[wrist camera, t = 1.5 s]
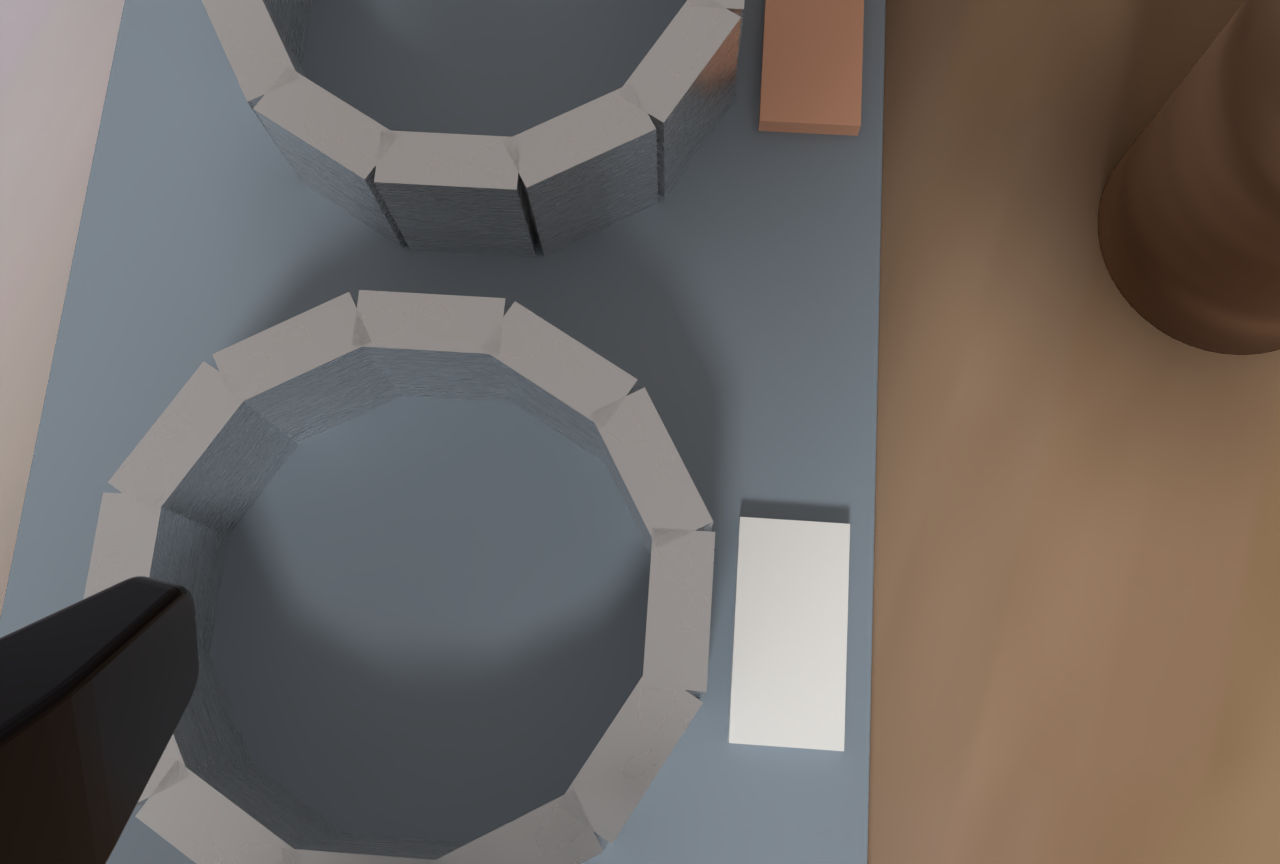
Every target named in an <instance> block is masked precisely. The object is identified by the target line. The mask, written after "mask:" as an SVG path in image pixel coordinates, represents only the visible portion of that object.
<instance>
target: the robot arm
mask: <svg viewBox="0 0 1280 864" xmlns="http://www.w3.org/2000/svg"><path fill="white" fill-rule="evenodd" d="M198 672H199V659H198V645H197V632H196V618H195V605H194V600H193V596H192V594H191V592H190V591H189V590H188V589H187V588H185V587H183V586H182V585H178V584H174V583H170V582H166V581H162V580H158V579H153V578H149V577H145V576H136V577H132V578H129V579H126V580H124V581H122V582H119V583H117V584H115V585H113V586H111V587H109V588H107V589H104V590H102V591H100V592H98V593H96V594H94V595H91V596H89V597H87V598H85V599H83V600H81V601H78V602H76V603H74V604H72V605H70V606H68V607H66V608H63V609H61V610H59V611H57V612H55V613H53V614H50V615H48V616H46V617H44V618H42V619H40V620H37V621H35V622H33V623H31V624H29V625H27V626H25V627H22V628H20V629H18V630H16V631H14V632H12V633H9V634H7V635H5V636H3V637H1V638H0V864H106V862H107V860H108V858H109V857H110V855H111V853H112V851H113V849H114V848H115V846H116V844H117V842H118V840H119V838H120V836H121V834H122V832H123V830H124V828H125V826H126V824H127V822H128V820H129V818H130V816H131V815H132V813H133V811H134V809H135V807H136V805H137V803H138V801H139V799H140V797H141V795H142V793H143V791H144V789H145V787H146V785H147V783H148V781H149V780H150V778H151V776H152V774H153V772H154V770H155V768H156V766H157V764H158V762H159V760H160V758H161V756H162V754H163V752H164V750H165V748H166V746H167V744H168V743H169V741H170V739H171V737H172V735H173V733H174V731H175V729H176V727H177V725H178V723H179V721H180V719H181V717H182V715H183V713H184V711H185V709H186V708H187V706H188V704H189V702H190V700H191V697H192V695H193V692H194V690H195V687H196V683H197V679H198Z"/></svg>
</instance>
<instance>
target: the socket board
mask: <svg viewBox="0 0 1280 864" xmlns="http://www.w3.org/2000/svg"><path fill="white" fill-rule="evenodd" d="M885 6H886V0H125V2H124V7H123V12H122V17H121V22H120V27H119V32H118V37H117V42H116V47H115V52H114V57H113V62H112V67H111V72H110V77H109V82H108V87H107V92H106V97H105V102H104V107H103V112H102V117H101V122H100V127H99V132H98V137H97V142H96V147H95V151H94V156H93V161H92V166H91V171H90V176H89V181H88V186H87V191H86V196H85V201H84V206H83V211H82V216H81V221H80V226H79V231H78V236H77V241H76V246H75V251H74V256H73V261H72V266H71V271H70V276H69V281H68V286H67V291H66V296H65V301H64V306H63V311H62V315H61V320H60V325H59V330H58V335H57V340H56V345H55V350H54V355H53V360H52V365H51V370H50V375H49V380H48V385H47V390H46V395H45V400H44V405H43V410H42V415H41V420H40V425H39V430H38V435H37V440H36V445H35V450H34V455H33V460H32V465H31V470H30V475H29V479H28V484H27V489H26V494H25V499H24V504H23V509H22V514H21V519H20V524H19V529H18V534H17V539H16V544H15V549H14V554H13V559H12V564H11V569H10V574H9V579H8V584H7V589H6V594H5V599H4V604H3V609H2V614H1V619H0V638H1V637H3V636H5V635H7V634H9V633H12V632H14V631H16V630H18V629H20V628H22V627H25V626H27V625H29V624H31V623H33V622H35V621H37V620H40V619H42V618H44V617H46V616H48V615H50V614H53V613H55V612H57V611H59V610H61V609H63V608H66V607H68V606H70V605H72V604H74V603H76V602H78V601H81V600H83V599H85V598H87V597H89V596H91V595H94V594H96V593H98V592H100V591H102V590H104V589H107V588H109V587H111V586H113V585H115V584H117V583H119V582H122V581H124V580H126V579H129V578H132V577H136V576H145V577H149V578H153V579H158V580H162V581H166V582H170V583H174V584H178V585H182V586H183V587H185V588H187V589H188V590H189V591H190V592H191V594H192V596H193V600H194V605H195V618H196V632H197V645H198V659H199V672H198V679H197V683H196V687H195V690H194V692H193V695H192V697H191V700H190V702H189V704H188V706H187V708H186V709H185V711H184V713H183V715H182V717H181V719H180V721H179V723H178V725H177V727H176V729H175V731H174V733H173V735H172V737H171V739H170V741H169V743H168V744H167V746H166V748H165V750H164V752H163V754H162V756H161V758H160V760H159V762H158V764H157V766H156V768H155V770H154V772H153V774H152V776H151V778H150V780H149V781H148V783H147V785H146V787H145V789H144V791H143V793H142V795H141V797H140V799H139V801H138V803H137V805H136V807H135V809H134V811H133V813H132V815H131V816H130V818H129V820H128V822H127V824H126V826H125V828H124V830H123V832H122V834H121V836H120V838H119V840H118V842H117V844H116V846H115V848H114V849H113V851H112V853H111V855H110V857H109V858H108V860H107V862H106V864H867V843H868V796H869V750H870V703H871V657H872V610H873V564H874V517H875V471H876V424H877V378H878V331H879V285H880V238H881V192H882V145H883V99H884V52H885Z"/></svg>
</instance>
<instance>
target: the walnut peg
mask: <svg viewBox="0 0 1280 864" xmlns="http://www.w3.org/2000/svg"><path fill="white" fill-rule="evenodd" d="M1098 236H1099V242H1100V248H1101V252H1102V255H1103V258H1104V262H1105V265H1106V267H1107V269H1108V271H1109V273H1110V276H1111V278H1112V280H1113V281H1114V283H1115V285H1116V286H1117V288H1118V289H1119V291H1120V293H1121V294H1122V295H1123V296H1124V298H1125V299H1126V300H1127V301H1128V303H1129V304H1130V305H1131V306H1132V307H1133V308H1134V309H1135V310H1136V311H1137V312H1138V313H1139V314H1140V315H1141V316H1142V317H1143V318H1144V319H1145V320H1147V321H1148V322H1149V323H1151V324H1152V325H1153V326H1155V327H1156V328H1157V329H1159V330H1160V331H1162V332H1164V333H1165V334H1167V335H1169V336H1171V337H1172V338H1174V339H1177V340H1179V341H1181V342H1183V343H1185V344H1188V345H1190V346H1193V347H1197V348H1200V349H1203V350H1206V351H1212V352H1217V353H1222V354H1235V355H1247V354H1260V353H1265V352H1271V351H1275V350H1279V349H1280V0H1245V1H1244V2H1243V3H1242V5H1241V6H1240V7H1239V8H1238V10H1237V11H1236V12H1235V14H1234V15H1233V16H1232V17H1231V19H1230V20H1229V21H1228V23H1227V24H1226V25H1225V26H1224V28H1223V29H1222V30H1221V32H1220V33H1219V34H1218V35H1217V37H1216V38H1215V39H1214V41H1213V42H1212V43H1211V44H1210V46H1209V47H1208V48H1207V49H1206V51H1205V52H1204V53H1203V55H1202V56H1201V57H1200V58H1199V60H1198V61H1197V62H1196V64H1195V65H1194V66H1193V67H1192V69H1191V70H1190V71H1189V73H1188V74H1187V75H1186V76H1185V78H1184V79H1183V80H1182V82H1181V83H1180V84H1179V85H1178V87H1177V88H1176V89H1175V91H1174V92H1173V93H1172V94H1171V96H1170V97H1169V98H1168V100H1167V101H1166V102H1165V103H1164V105H1163V106H1162V107H1161V109H1160V110H1159V111H1158V112H1157V114H1156V115H1155V116H1154V118H1153V119H1152V120H1151V121H1150V123H1149V124H1148V125H1147V126H1146V128H1145V129H1144V130H1143V132H1142V133H1141V134H1140V135H1139V137H1138V138H1137V139H1136V141H1135V142H1134V143H1133V144H1132V146H1131V147H1130V148H1129V150H1128V151H1127V152H1126V153H1125V155H1124V156H1123V157H1122V159H1121V160H1120V161H1119V162H1118V164H1117V165H1116V167H1115V168H1114V170H1113V172H1112V173H1111V175H1110V177H1109V179H1108V181H1107V183H1106V185H1105V188H1104V190H1103V194H1102V197H1101V201H1100V206H1099V213H1098Z"/></svg>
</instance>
